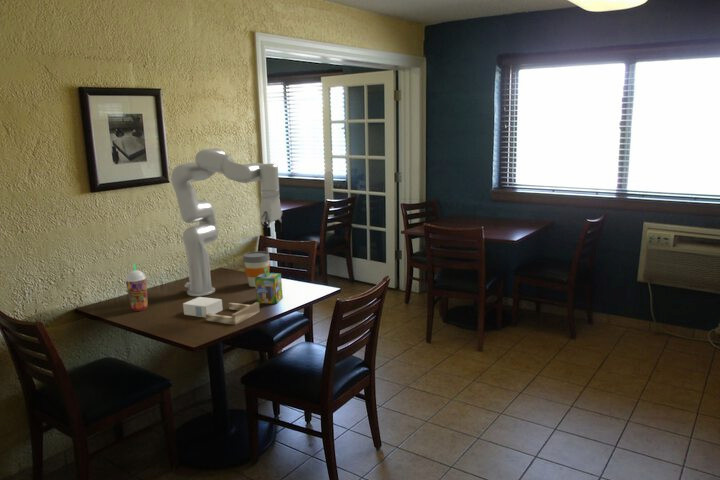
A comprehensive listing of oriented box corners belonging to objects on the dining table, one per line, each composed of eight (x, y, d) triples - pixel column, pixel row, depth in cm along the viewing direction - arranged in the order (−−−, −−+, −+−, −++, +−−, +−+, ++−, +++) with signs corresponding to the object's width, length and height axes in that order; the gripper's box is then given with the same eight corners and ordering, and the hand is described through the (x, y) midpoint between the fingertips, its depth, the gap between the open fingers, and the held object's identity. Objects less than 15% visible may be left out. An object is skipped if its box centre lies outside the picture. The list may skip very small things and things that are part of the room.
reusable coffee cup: (250, 289, 269) (247, 258, 266) (241, 283, 279) (239, 253, 276) (275, 285, 275) (273, 254, 272) (266, 279, 286) (263, 249, 282)
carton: (184, 315, 237) (182, 303, 236) (200, 307, 246) (199, 296, 245) (207, 318, 232) (205, 306, 231) (222, 310, 241) (221, 299, 240)
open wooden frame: (206, 320, 229) (205, 311, 228) (231, 308, 243) (230, 299, 242) (236, 324, 223) (235, 315, 222) (259, 311, 237) (258, 302, 236)
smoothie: (130, 313, 241) (124, 267, 237) (128, 308, 248) (122, 263, 244) (151, 309, 245) (145, 264, 241) (148, 304, 252) (143, 260, 248)
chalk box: (276, 304, 246) (274, 271, 243) (256, 303, 248) (253, 270, 245) (283, 297, 255) (281, 265, 252) (264, 297, 256) (261, 265, 253)
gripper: (272, 191, 247) (274, 229, 251) (251, 196, 231) (254, 238, 235) (287, 191, 245) (290, 230, 248) (268, 196, 229) (271, 238, 232)
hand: (273, 234), depth 242 cm, fingers open, 9 cm apart
